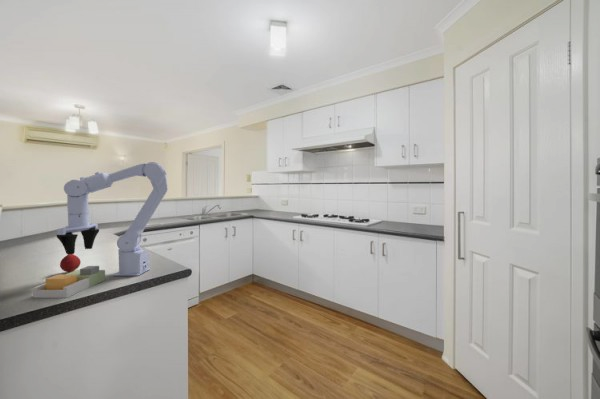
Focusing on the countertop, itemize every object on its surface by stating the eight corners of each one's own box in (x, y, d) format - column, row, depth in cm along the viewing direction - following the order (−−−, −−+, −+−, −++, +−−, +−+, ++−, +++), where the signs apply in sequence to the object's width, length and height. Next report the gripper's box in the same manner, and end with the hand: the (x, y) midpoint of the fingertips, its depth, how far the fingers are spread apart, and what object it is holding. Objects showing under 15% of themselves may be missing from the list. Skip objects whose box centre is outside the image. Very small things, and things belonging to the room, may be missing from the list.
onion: (68, 275, 94) (67, 254, 94) (56, 274, 95) (55, 253, 95) (84, 271, 100) (83, 251, 99) (72, 270, 101) (72, 250, 101)
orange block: (77, 290, 81) (76, 274, 81) (65, 295, 77) (65, 279, 77) (58, 289, 81) (58, 274, 81) (46, 295, 77) (45, 279, 77)
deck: (105, 279, 90) (104, 264, 90) (67, 297, 75) (66, 279, 75) (77, 279, 90) (76, 264, 90) (33, 297, 75) (32, 279, 75)
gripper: (84, 212, 98) (85, 246, 98) (47, 215, 83) (48, 256, 84) (102, 212, 98) (103, 246, 98) (68, 215, 83) (70, 256, 84)
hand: (79, 251), depth 91 cm, fingers open, 7 cm apart
